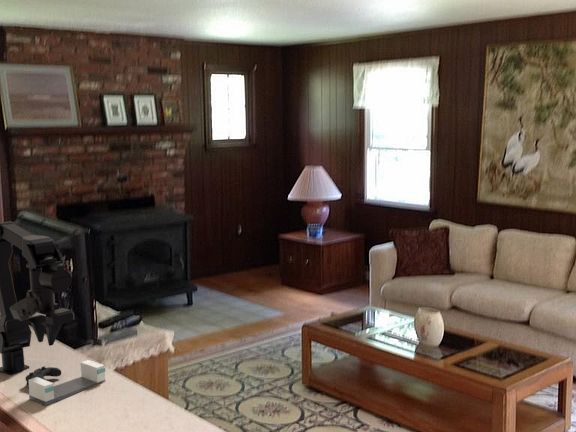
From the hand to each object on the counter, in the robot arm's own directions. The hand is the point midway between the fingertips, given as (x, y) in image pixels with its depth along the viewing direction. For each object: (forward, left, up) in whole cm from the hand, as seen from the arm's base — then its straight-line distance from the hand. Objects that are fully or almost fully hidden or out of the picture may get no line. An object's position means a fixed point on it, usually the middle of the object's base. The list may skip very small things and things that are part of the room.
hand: (45, 343), depth 185 cm
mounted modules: (+9, 0, -11) cm, 14 cm away
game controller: (+1, 0, -11) cm, 11 cm away
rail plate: (+9, 0, -11) cm, 14 cm away
